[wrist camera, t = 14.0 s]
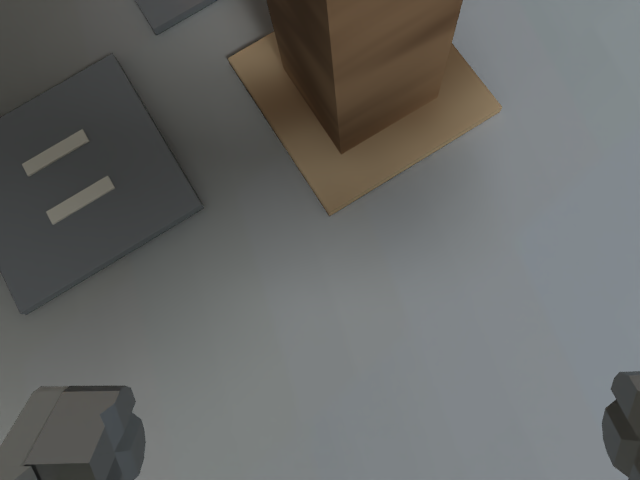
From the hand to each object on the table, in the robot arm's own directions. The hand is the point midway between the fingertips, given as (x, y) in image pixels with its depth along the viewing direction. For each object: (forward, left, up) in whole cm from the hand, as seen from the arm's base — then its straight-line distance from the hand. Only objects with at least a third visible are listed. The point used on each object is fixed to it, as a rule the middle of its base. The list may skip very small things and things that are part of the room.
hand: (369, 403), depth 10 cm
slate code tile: (-13, -6, -11) cm, 18 cm away
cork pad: (-10, +6, -11) cm, 17 cm away
